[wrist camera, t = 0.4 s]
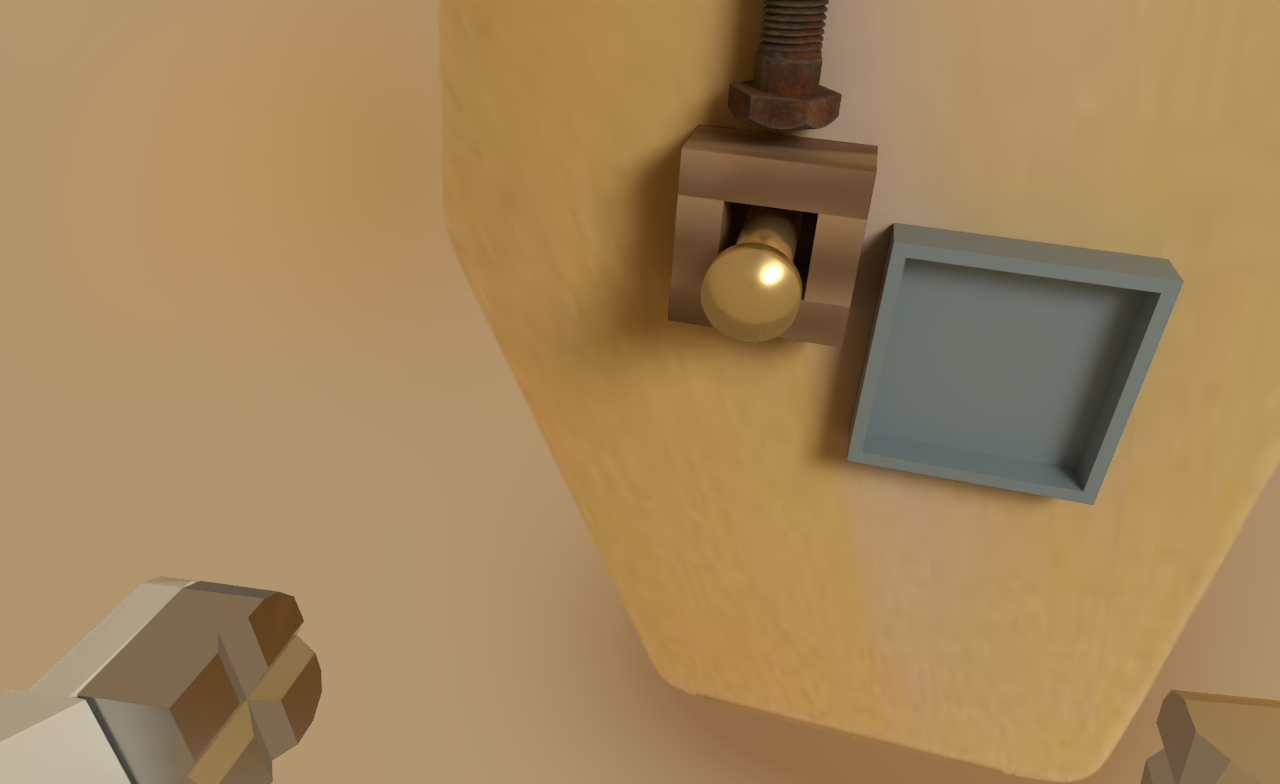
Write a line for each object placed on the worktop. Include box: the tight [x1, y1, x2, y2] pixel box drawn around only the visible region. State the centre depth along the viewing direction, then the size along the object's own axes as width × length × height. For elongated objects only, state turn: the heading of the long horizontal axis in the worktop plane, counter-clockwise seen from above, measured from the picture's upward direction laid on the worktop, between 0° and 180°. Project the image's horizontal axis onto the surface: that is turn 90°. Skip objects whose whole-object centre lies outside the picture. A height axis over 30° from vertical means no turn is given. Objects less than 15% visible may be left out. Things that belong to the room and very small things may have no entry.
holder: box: [668, 125, 878, 347], centre depth 51 cm, size 10×10×5 cm
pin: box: [701, 205, 802, 343], centre depth 48 cm, size 5×5×11 cm
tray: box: [847, 223, 1183, 505], centre depth 53 cm, size 15×15×3 cm
